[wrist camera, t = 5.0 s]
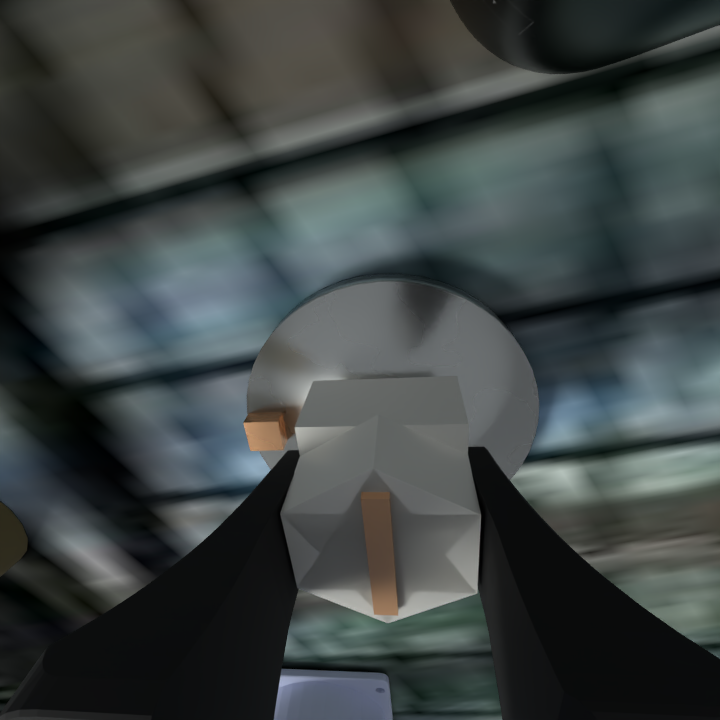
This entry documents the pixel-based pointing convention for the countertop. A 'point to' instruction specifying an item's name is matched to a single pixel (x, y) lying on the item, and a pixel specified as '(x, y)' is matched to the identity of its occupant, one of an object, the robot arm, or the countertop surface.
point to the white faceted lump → (384, 496)
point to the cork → (10, 539)
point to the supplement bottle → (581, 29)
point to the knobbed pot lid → (395, 360)
